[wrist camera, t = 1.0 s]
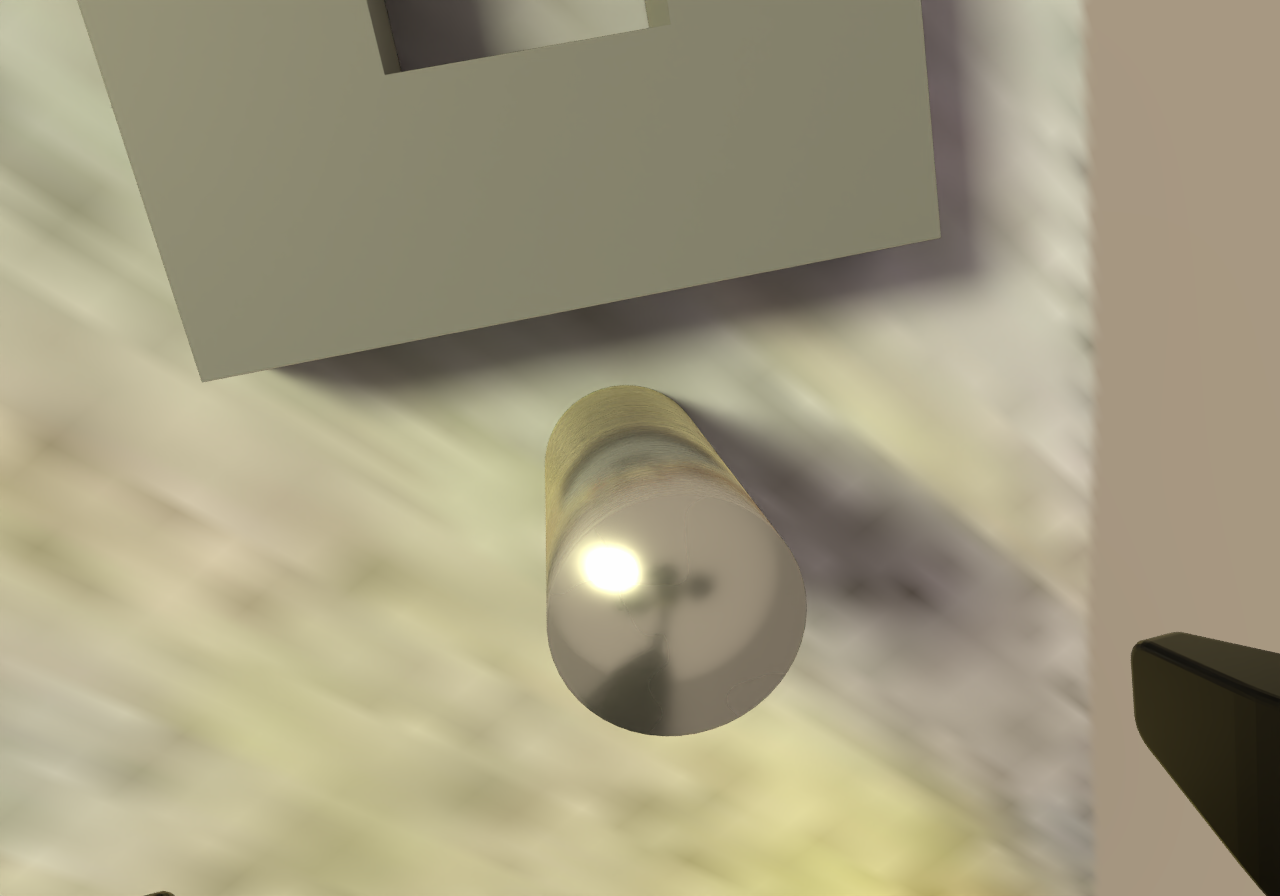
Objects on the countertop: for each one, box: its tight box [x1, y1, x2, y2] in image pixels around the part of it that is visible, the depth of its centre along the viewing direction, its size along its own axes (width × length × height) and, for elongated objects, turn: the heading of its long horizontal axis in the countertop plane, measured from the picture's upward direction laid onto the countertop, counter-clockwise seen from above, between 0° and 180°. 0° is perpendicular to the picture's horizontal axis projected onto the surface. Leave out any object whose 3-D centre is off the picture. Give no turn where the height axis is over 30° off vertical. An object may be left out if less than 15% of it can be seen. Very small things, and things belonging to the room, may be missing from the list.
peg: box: [545, 385, 807, 736], centre depth 16 cm, size 4×4×8 cm
